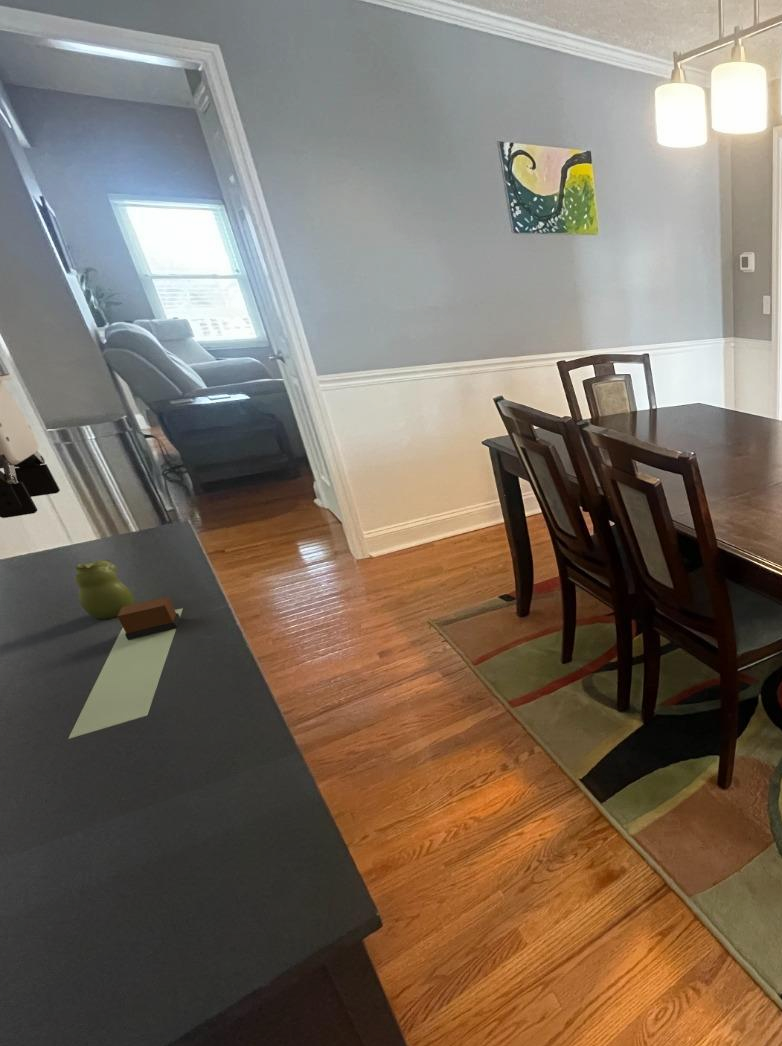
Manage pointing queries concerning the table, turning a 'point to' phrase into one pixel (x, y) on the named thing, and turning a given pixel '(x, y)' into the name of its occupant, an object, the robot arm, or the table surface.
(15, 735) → the table surface
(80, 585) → the pear
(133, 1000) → the table surface
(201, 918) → the table surface
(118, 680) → the board
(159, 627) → the eraser
